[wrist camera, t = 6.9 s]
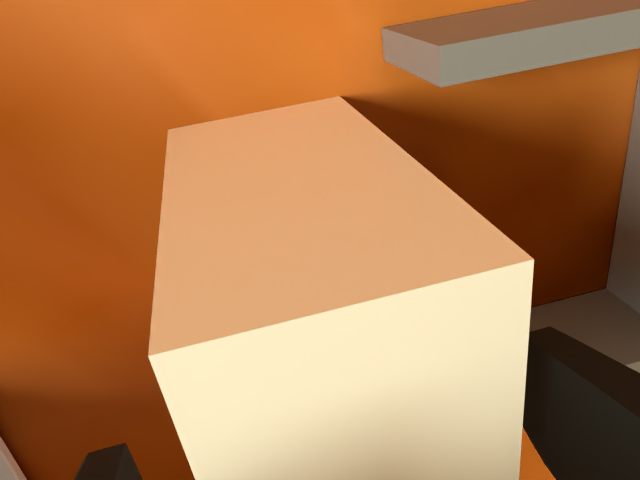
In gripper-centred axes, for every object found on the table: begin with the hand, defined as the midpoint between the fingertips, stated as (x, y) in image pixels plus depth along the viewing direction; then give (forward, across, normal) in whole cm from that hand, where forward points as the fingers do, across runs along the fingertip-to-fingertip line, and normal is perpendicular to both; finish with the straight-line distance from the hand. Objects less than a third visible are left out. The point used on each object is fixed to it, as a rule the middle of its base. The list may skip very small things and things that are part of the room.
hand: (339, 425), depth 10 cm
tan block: (+7, 0, 0) cm, 7 cm away
